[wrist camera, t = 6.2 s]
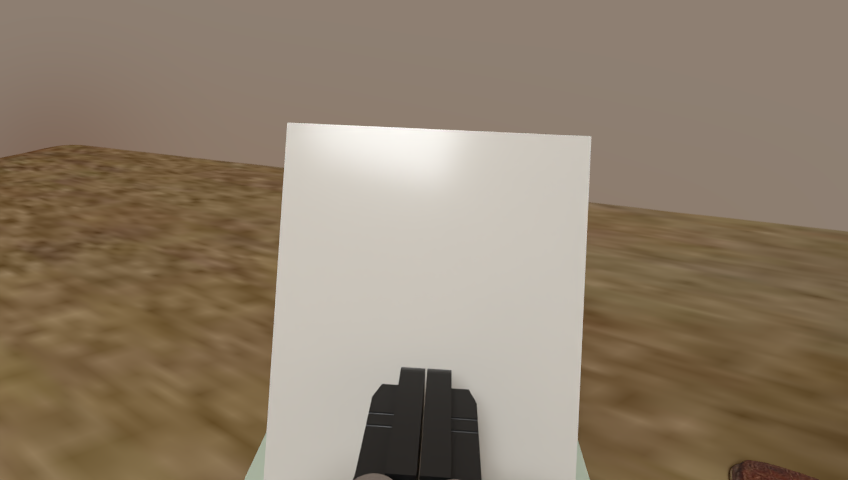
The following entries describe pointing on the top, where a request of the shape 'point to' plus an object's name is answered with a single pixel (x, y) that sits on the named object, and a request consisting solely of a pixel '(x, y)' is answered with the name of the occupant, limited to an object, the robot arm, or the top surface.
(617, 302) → the top surface
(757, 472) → the wooden tablet
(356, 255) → the white rectangular block
